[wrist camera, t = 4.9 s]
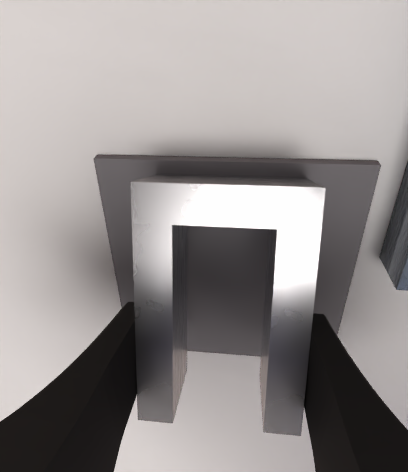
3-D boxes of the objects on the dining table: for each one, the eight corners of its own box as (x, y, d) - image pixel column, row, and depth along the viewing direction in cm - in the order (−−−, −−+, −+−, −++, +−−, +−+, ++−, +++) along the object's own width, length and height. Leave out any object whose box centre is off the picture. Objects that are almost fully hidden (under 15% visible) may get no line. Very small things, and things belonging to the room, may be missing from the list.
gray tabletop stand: (289, 378, 14) (300, 435, 12) (158, 367, 15) (137, 419, 12) (307, 178, 13) (325, 187, 10) (155, 174, 13) (130, 181, 10)
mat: (328, 355, 18) (330, 361, 17) (131, 340, 19) (129, 346, 18) (377, 160, 12) (380, 165, 12) (97, 154, 13) (93, 158, 13)
